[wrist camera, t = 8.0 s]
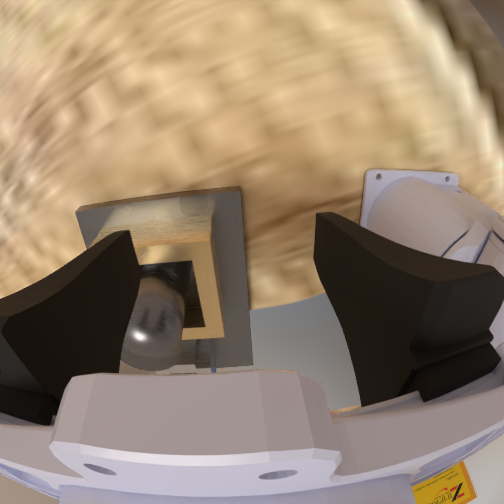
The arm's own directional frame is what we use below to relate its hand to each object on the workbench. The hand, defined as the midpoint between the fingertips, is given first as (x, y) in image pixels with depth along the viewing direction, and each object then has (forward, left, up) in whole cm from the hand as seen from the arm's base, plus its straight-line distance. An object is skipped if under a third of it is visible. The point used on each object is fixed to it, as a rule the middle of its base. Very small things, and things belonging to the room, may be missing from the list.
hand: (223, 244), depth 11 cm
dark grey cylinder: (+5, +6, -8) cm, 12 cm away
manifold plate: (+5, +10, -9) cm, 15 cm away
